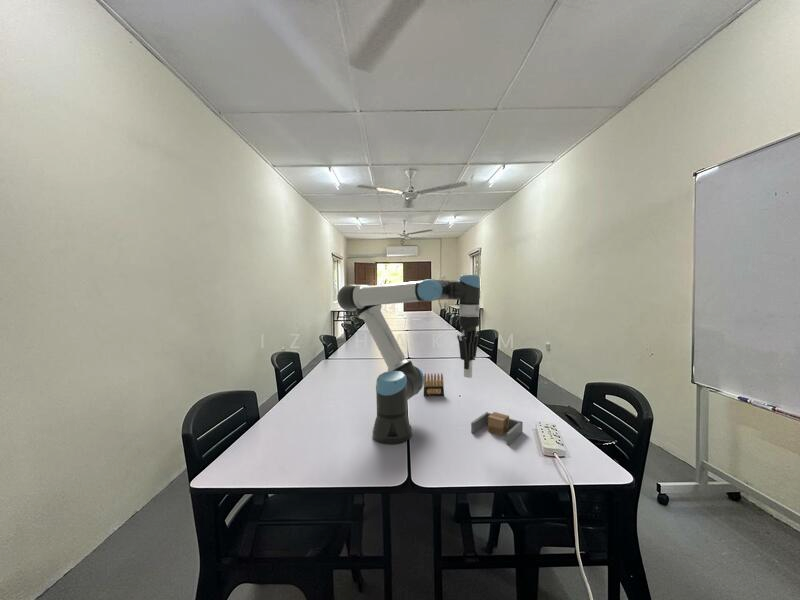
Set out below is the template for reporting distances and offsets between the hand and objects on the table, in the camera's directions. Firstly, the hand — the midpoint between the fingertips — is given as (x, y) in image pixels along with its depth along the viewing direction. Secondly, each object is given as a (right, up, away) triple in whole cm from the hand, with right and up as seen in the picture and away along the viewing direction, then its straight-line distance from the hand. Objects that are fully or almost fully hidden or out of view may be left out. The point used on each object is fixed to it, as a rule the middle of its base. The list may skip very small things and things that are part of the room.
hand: (467, 376), depth 117 cm
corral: (+12, -22, +2) cm, 25 cm away
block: (+13, -22, +3) cm, 26 cm away
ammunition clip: (-8, -21, +44) cm, 49 cm away
